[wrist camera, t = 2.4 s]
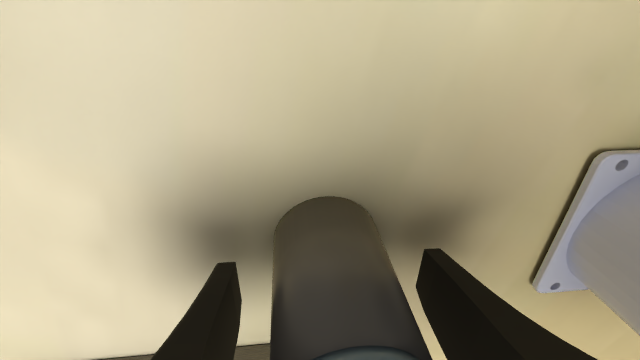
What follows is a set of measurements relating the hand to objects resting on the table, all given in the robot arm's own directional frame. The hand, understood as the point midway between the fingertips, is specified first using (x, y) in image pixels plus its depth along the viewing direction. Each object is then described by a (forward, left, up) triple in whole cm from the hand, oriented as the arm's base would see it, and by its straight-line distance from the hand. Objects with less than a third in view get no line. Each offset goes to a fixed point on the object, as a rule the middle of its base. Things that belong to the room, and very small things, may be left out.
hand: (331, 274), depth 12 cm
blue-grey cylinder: (0, 0, -2) cm, 2 cm away
